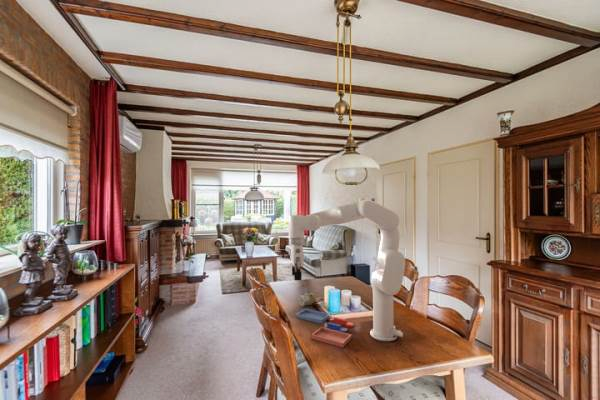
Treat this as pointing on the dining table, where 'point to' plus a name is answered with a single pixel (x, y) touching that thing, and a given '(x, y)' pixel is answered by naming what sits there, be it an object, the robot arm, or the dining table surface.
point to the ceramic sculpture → (307, 299)
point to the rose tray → (331, 337)
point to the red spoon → (343, 322)
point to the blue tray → (312, 316)
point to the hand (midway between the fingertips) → (296, 277)
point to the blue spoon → (336, 327)
